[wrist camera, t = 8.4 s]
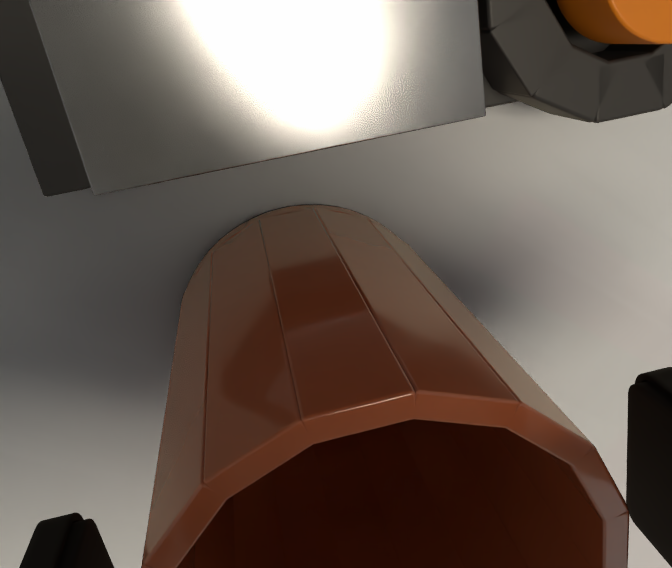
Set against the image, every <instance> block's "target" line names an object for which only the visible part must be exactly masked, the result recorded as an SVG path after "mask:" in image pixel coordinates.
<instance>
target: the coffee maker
mask: <svg viewBox="0 0 672 568" xmlns="http://www.w3.org/2000/svg"><path fill="white" fill-rule="evenodd" d="M28 1H29V4H30V7H31V10H32V13H33V16H34V19H35V22H36V25H37V28H38V31H39V34H40V37H41V40H42V43H43V46H44V49H45V52H46V55H47V58H48V61H49V64H50V67H51V70H52V73H53V76H54V79H55V82H56V85H57V88H58V91H59V94H60V97H61V100H62V103H63V106H64V109H65V112H66V115H67V118H68V121H69V124H70V127H71V130H72V133H73V135H74V138H75V141H76V144H77V147H78V150H79V153H80V156H81V159H82V162H83V165H84V168H85V171H86V174H87V177H88V180H89V183H90V186H91V189H92V192H93V195H94V196H96V195H101V194H106V193H111V192H115V191H120V190H125V189H130V188H135V187H140V186H145V185H150V184H155V183H160V182H164V181H169V180H174V179H179V178H184V177H189V176H194V175H199V174H204V173H209V172H213V171H218V170H223V169H228V168H233V167H238V166H243V165H248V164H253V163H258V162H263V161H267V160H272V159H277V158H282V157H287V156H292V155H297V154H302V153H307V152H312V151H316V150H321V149H326V148H331V147H336V146H341V145H346V144H351V143H356V142H361V141H365V140H370V139H375V138H380V137H385V136H390V135H395V134H400V133H405V132H410V131H414V130H419V129H424V128H429V127H434V126H439V125H444V124H449V123H454V122H459V121H463V120H468V119H473V118H478V117H483V116H486V111H485V97H484V82H483V67H482V53H481V38H480V24H479V9H478V0H28Z"/></svg>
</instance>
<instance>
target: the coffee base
mask: <svg viewBox="0 0 672 568" xmlns="http://www.w3.org/2000/svg"><path fill="white" fill-rule="evenodd" d="M478 9H479V24H480V38H481V53H482V67H483V82H484V97H485V108H487V107H492V106H497V105H502V104H507V103H512V102H516V101H521V102H523V103H525V104H528V105H530V106H533V107H535V108H537V109H540V110H542V111H545V112H547V113H550V114H553V115H558V116H563V117H567V118H572V119H576V120H581V121H586V122H594V123H599V122H604V121H609V120H614V119H619V118H623V117H628V116H633V115H638V114H642V113H647V112H652V111H657V110H660V109H662V108H666V107H668V106H669V105H670V104H671V103H672V44H605V43H600V42H596V41H593V40H590V39H588V38H586V37H585V36H583V35H581V34H580V33H579V32H577V31H576V30H575V29H574V28H573V27H572V26H571V25H570V24H569V23H568V21H567V20H566V18H565V17H564V15H563V14H562V12H561V10H560V8H559V6H558V3H557V0H478ZM0 79H1V81H2V84H3V87H4V90H5V92H6V95H7V98H8V100H9V103H10V106H11V109H12V111H13V114H14V117H15V119H16V122H17V125H18V128H19V130H20V133H21V136H22V138H23V141H24V144H25V147H26V149H27V152H28V155H29V157H30V160H31V163H32V166H33V168H34V171H35V174H36V176H37V179H38V182H39V184H40V187H41V190H42V193H43V195H44V196H47V197H48V196H53V195H58V194H62V193H67V192H72V191H77V190H82V189H87V188H91V186H90V183H89V180H88V177H87V174H86V171H85V168H84V165H83V162H82V159H81V156H80V153H79V150H78V147H77V144H76V141H75V138H74V135H73V133H72V130H71V127H70V124H69V121H68V118H67V115H66V112H65V109H64V106H63V103H62V100H61V97H60V94H59V91H58V88H57V85H56V82H55V79H54V76H53V73H52V70H51V67H50V64H49V61H48V58H47V55H46V52H45V49H44V46H43V43H42V40H41V37H40V34H39V31H38V28H37V25H36V22H35V19H34V16H33V13H32V10H31V7H30V4H29V1H28V0H0Z"/></svg>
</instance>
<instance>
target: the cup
mask: <svg viewBox="0 0 672 568" xmlns="http://www.w3.org/2000/svg"><path fill="white" fill-rule="evenodd" d="M628 538H629V511H628V506H627V504H626V502H625V500H624V499H623V497H622V495H621V493H620V491H619V489H618V488H617V486H616V484H615V482H614V480H613V479H612V477H611V475H610V473H609V471H608V469H607V468H606V466H605V464H604V462H603V460H602V459H601V457H600V455H599V453H598V451H597V449H596V448H595V446H594V445H593V444H592V443H591V442H590V441H589V440H588V439H587V438H586V436H585V435H584V434H583V433H582V432H581V431H580V430H579V429H578V428H577V427H576V426H575V425H574V423H573V422H572V421H571V420H570V419H569V418H568V417H567V416H566V415H565V414H564V413H563V412H562V410H561V409H560V408H559V407H558V406H557V405H556V404H555V403H554V402H553V401H552V400H551V399H550V397H549V396H548V395H547V394H546V393H545V392H544V391H543V390H542V389H541V388H540V387H539V386H538V384H537V383H536V382H535V381H534V380H533V379H532V378H531V377H530V376H529V375H528V374H527V373H526V372H525V370H524V369H523V368H522V367H521V366H520V365H519V364H518V363H517V362H516V361H515V360H514V359H513V357H512V356H511V355H510V354H509V353H508V352H507V351H506V350H505V349H504V348H503V347H502V346H501V344H500V343H499V342H498V341H497V340H496V339H495V338H494V337H493V336H492V335H491V334H490V333H489V331H488V330H487V329H486V328H485V327H484V326H483V325H482V324H481V323H480V322H479V321H478V320H477V318H476V317H475V316H474V315H473V314H472V313H471V312H470V311H469V310H468V309H467V308H466V307H465V306H464V304H463V303H462V302H461V301H460V300H459V299H458V298H457V297H456V296H455V295H454V294H453V293H452V291H451V290H450V289H449V288H448V287H447V286H446V285H445V284H444V283H443V282H442V281H441V280H440V278H439V277H438V276H437V275H436V274H435V273H434V272H433V271H432V270H431V269H430V268H429V267H428V265H427V264H426V263H425V262H424V261H423V260H422V259H421V258H420V257H419V256H418V255H417V254H416V253H415V251H414V250H413V249H412V248H411V247H410V246H409V245H408V244H407V243H405V242H404V241H402V240H401V239H399V238H398V237H397V236H396V235H395V234H394V233H392V232H391V231H390V230H389V229H387V228H386V227H385V226H383V225H382V224H380V223H378V222H377V221H375V220H373V219H371V218H370V217H367V216H365V215H362V214H360V213H357V212H355V211H352V210H348V209H344V208H340V207H335V206H326V205H298V206H292V207H285V208H281V209H277V210H274V211H270V212H267V213H264V214H262V215H259V216H257V217H255V218H252V219H250V220H248V221H247V222H245V223H243V224H241V225H240V226H238V227H236V228H235V229H233V230H232V231H231V232H229V233H228V234H227V235H226V236H224V237H223V238H222V239H220V240H219V241H218V242H217V243H216V244H215V245H214V246H213V247H212V248H211V249H210V250H209V251H208V253H207V254H206V255H205V257H204V258H203V259H202V261H201V262H200V263H199V265H198V266H197V268H196V270H195V272H194V273H193V275H192V277H191V279H190V281H189V283H188V286H187V288H186V291H185V293H184V295H183V297H182V303H181V309H180V316H179V322H178V329H177V336H176V342H175V349H174V355H173V362H172V369H171V375H170V382H169V388H168V395H167V402H166V408H165V415H164V421H163V428H162V435H161V441H160V448H159V454H158V461H157V468H156V474H155V481H154V487H153V494H152V501H151V507H150V514H149V520H148V527H147V533H146V540H145V547H144V553H143V560H142V566H141V568H628Z"/></svg>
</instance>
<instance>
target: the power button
mask: <svg viewBox="0 0 672 568" xmlns="http://www.w3.org/2000/svg"><path fill="white" fill-rule="evenodd" d="M557 3H558V6H559V8H560V10H561V12H562V14H563V15H564V17H565V18H566V20H567V21H568V23H569V24H570V25H571V26H572V27H573V28H574V29H575V30H576V31H577V32H579V33H580V34H581V35H583V36H585V37H586V38H588V39H590V40H593V41H596V42H600V43H605V44H672V0H557Z"/></svg>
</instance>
